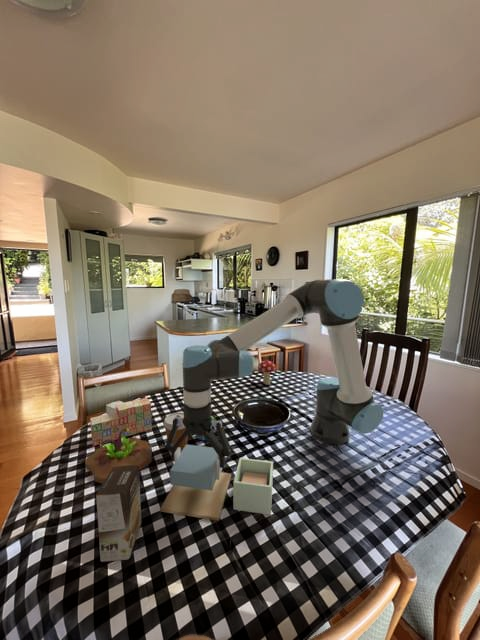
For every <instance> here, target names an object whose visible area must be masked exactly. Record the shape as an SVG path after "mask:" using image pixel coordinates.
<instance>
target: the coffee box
mask: <svg viewBox="0 0 480 640" xmlns="http://www.w3.org/2000/svg"><path fill="white" fill-rule="evenodd" d="M140 484H141V483H140V471H139V465H128V466H121V467H113V468H112V470H111V471H110V473H109V474H108V476H107V478H106V479H105V481H104V483H103V484H101V485H100V487H99V489H98V491H96V494H95V497H96V510H97V511H96V513H97V527H98V528H97V530H98V541H99V555H100V556H99V558H100V562H112V561H115V562H116V561H125V560H126V561H127V560H129V559H130V557H131V555H132V553H133V549H134V546H135V543H136V540H137V537H138V534H139V531H140V528H141V527H142V526H141V525H142V508H141V505H142V504H141V487H140Z"/></svg>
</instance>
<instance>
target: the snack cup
mask: <svg viewBox="0 0 480 640" xmlns="http://www.w3.org/2000/svg"><path fill="white" fill-rule="evenodd" d="M211 418H212V420H213V421H217V419H216V418H215V417H213V416H211ZM212 428H213V426H211V429H212ZM212 430H213V429H212ZM189 435H190V436H191V437H193V436H194V435H191V433H189ZM195 436H196V439H197V440H200V441H206V440H207V439H205V437H204V436H203V435H202V436H199V435H195ZM207 441H208V440H207Z"/></svg>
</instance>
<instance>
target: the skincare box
mask: <svg viewBox="0 0 480 640" xmlns="http://www.w3.org/2000/svg"><path fill="white" fill-rule="evenodd" d="M121 403H125V402H124V401H121V400H117V401H113V402H110V403H108V404H107V403H106V405H105V406H106V407H105V408H106V414H110V413H114V412H116V405H117V404H121Z"/></svg>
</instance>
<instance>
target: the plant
mask: <svg viewBox="0 0 480 640" xmlns="http://www.w3.org/2000/svg"><path fill="white" fill-rule="evenodd" d="M123 431H124V432H126V433H128V432H129V429H128V428H125V429H122V431H121V432H120V434H119V436H118V439H117V441H116V440H111V439H108V440H105V441H104V442H102V443H101V444H99V448H97V449H95V452H94V453H92V454H90V455H88V456H87V457H86V458H85V462H84V463H85V465H84V466H85V469H87V470H88V471H89V472H90V473H91V475H92V476H93V481H94V482H95V483H98V484H101V485H102V484H103V483H104V481H105V479H106V478H107V476H108V474H109V473H110V471H111V470H112V468H113V467H121V466H128V465H139V472H140V471H141V470H143V469H144V468H146V467H147V466H149V465H151V463H152V462H153V461H152V454H153V452H152V451H153V450H152V446H151V445H150V444H149V442H147V440H142V439H140V438H138V437H136V436H135V437H128V438H127V437H122V438H121V434H122V432H123ZM106 441H107V442H106ZM108 441H109V442H110V443H109V442H108ZM105 442H106V443H105Z"/></svg>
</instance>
